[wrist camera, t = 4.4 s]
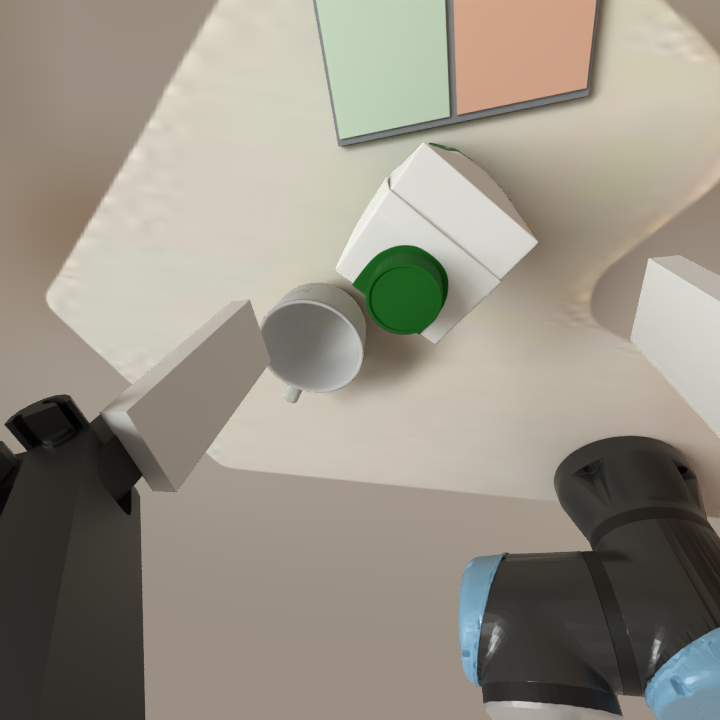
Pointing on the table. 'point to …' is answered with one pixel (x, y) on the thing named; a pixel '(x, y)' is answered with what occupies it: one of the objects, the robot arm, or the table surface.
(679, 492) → the robot arm
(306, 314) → the teacup
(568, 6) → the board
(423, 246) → the soya milk
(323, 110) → the table surface
